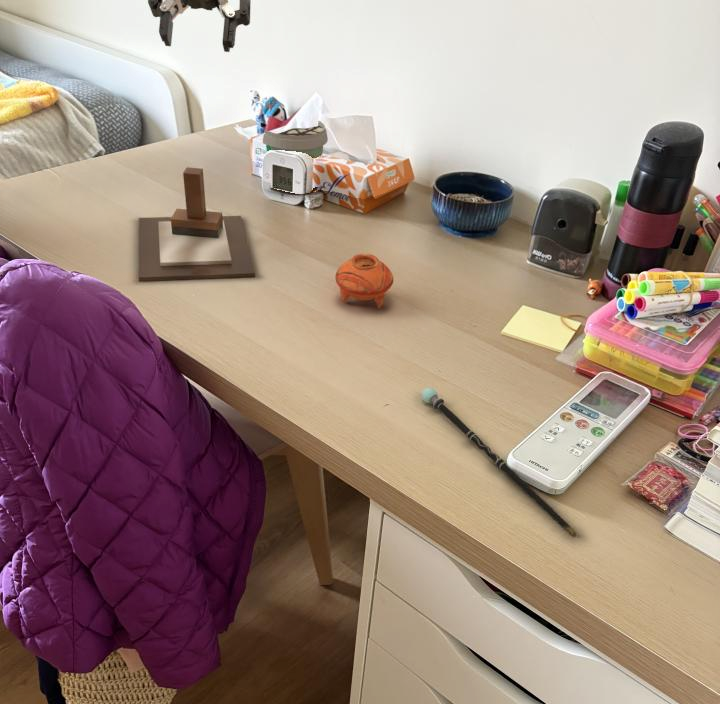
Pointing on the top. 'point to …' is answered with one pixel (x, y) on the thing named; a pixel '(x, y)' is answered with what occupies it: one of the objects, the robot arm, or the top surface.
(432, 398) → the black stick
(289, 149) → the food container
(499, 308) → the top surface
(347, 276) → the pot
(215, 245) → the tile board
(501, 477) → the top surface
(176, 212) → the brown t-shaped stand
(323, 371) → the top surface
